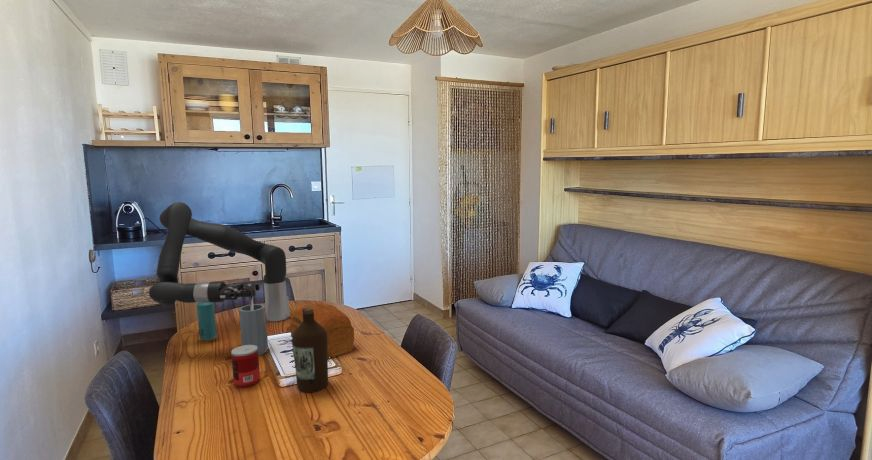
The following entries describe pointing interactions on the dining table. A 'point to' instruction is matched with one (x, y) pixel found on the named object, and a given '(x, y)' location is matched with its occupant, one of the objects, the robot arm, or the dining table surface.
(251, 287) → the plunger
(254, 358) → the canned food
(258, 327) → the grey utensil holder
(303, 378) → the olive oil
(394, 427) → the dining table surface
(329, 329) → the bread
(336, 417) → the dining table surface
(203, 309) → the beverage bottle
